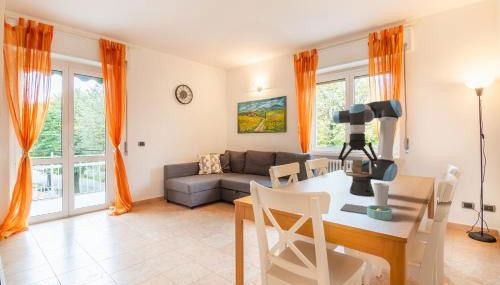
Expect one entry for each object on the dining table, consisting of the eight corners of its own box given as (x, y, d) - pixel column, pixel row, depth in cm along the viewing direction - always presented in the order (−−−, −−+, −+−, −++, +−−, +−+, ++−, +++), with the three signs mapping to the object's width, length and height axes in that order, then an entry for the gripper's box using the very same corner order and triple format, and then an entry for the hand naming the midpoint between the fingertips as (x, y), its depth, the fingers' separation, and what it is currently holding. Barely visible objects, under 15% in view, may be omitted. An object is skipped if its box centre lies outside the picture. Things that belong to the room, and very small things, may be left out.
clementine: (376, 213, 123) (376, 207, 123) (382, 214, 121) (382, 208, 121) (375, 214, 120) (375, 209, 120) (382, 216, 119) (382, 209, 119)
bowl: (368, 211, 128) (368, 204, 128) (392, 215, 122) (392, 207, 122) (365, 217, 119) (365, 209, 119) (391, 221, 113) (391, 213, 113)
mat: (345, 204, 141) (345, 203, 141) (370, 208, 134) (370, 206, 134) (340, 210, 130) (340, 209, 130) (366, 214, 123) (366, 213, 123)
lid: (347, 172, 139) (347, 158, 139) (370, 174, 133) (370, 159, 133) (343, 175, 129) (343, 160, 129) (368, 177, 123) (368, 162, 123)
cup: (391, 207, 135) (391, 186, 135) (375, 206, 137) (375, 185, 136) (386, 203, 143) (386, 183, 142) (371, 202, 144) (371, 182, 144)
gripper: (332, 133, 134) (332, 172, 134) (382, 132, 121) (382, 175, 122) (335, 133, 140) (335, 170, 141) (383, 132, 127) (383, 173, 128)
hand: (357, 173), depth 131 cm, fingers closed on lid, 12 cm apart
